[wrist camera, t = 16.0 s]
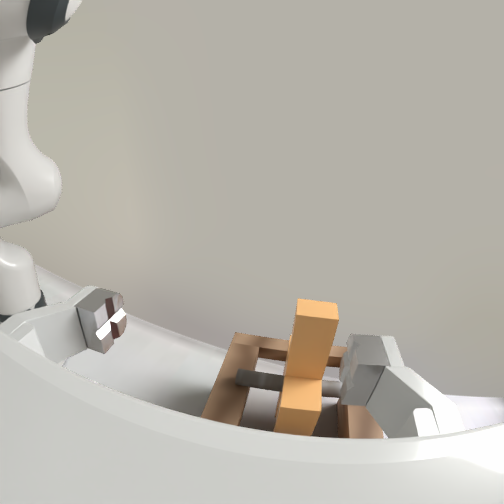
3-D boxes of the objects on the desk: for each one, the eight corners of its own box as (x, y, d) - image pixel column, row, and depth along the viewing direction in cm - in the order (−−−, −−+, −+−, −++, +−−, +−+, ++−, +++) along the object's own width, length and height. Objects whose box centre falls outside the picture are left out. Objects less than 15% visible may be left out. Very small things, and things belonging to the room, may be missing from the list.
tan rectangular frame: (199, 485, 28) (188, 431, 23) (232, 389, 47) (235, 321, 41) (347, 503, 25) (394, 453, 20) (345, 403, 44) (370, 338, 38)
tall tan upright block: (265, 465, 30) (293, 345, 22) (277, 402, 41) (299, 279, 33) (295, 469, 29) (342, 350, 21) (302, 405, 40) (333, 283, 32)
